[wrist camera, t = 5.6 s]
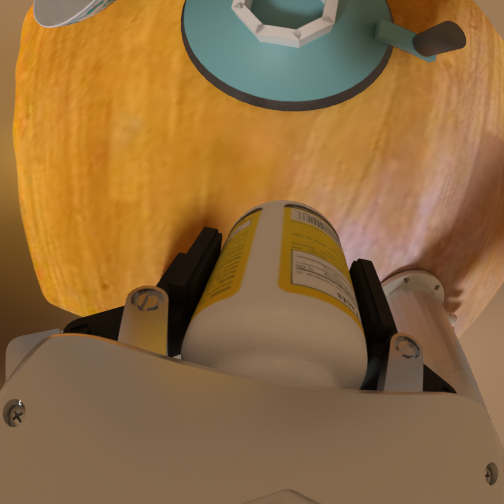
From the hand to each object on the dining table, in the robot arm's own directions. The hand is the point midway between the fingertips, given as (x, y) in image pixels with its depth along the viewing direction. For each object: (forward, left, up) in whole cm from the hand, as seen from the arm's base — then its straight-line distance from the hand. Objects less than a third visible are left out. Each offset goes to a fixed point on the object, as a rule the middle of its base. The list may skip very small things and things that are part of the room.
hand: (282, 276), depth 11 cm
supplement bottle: (0, 0, -2) cm, 2 cm away
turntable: (+1, -17, -18) cm, 25 cm away
